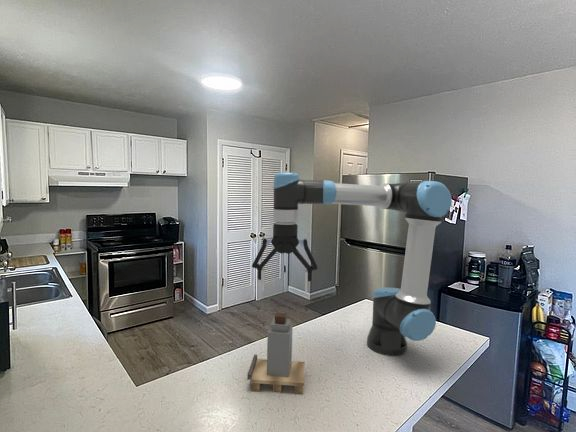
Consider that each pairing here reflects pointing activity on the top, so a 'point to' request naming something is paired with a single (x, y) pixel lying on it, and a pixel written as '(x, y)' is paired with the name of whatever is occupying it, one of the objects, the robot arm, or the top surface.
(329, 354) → the top surface
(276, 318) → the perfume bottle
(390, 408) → the top surface
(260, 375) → the platform
